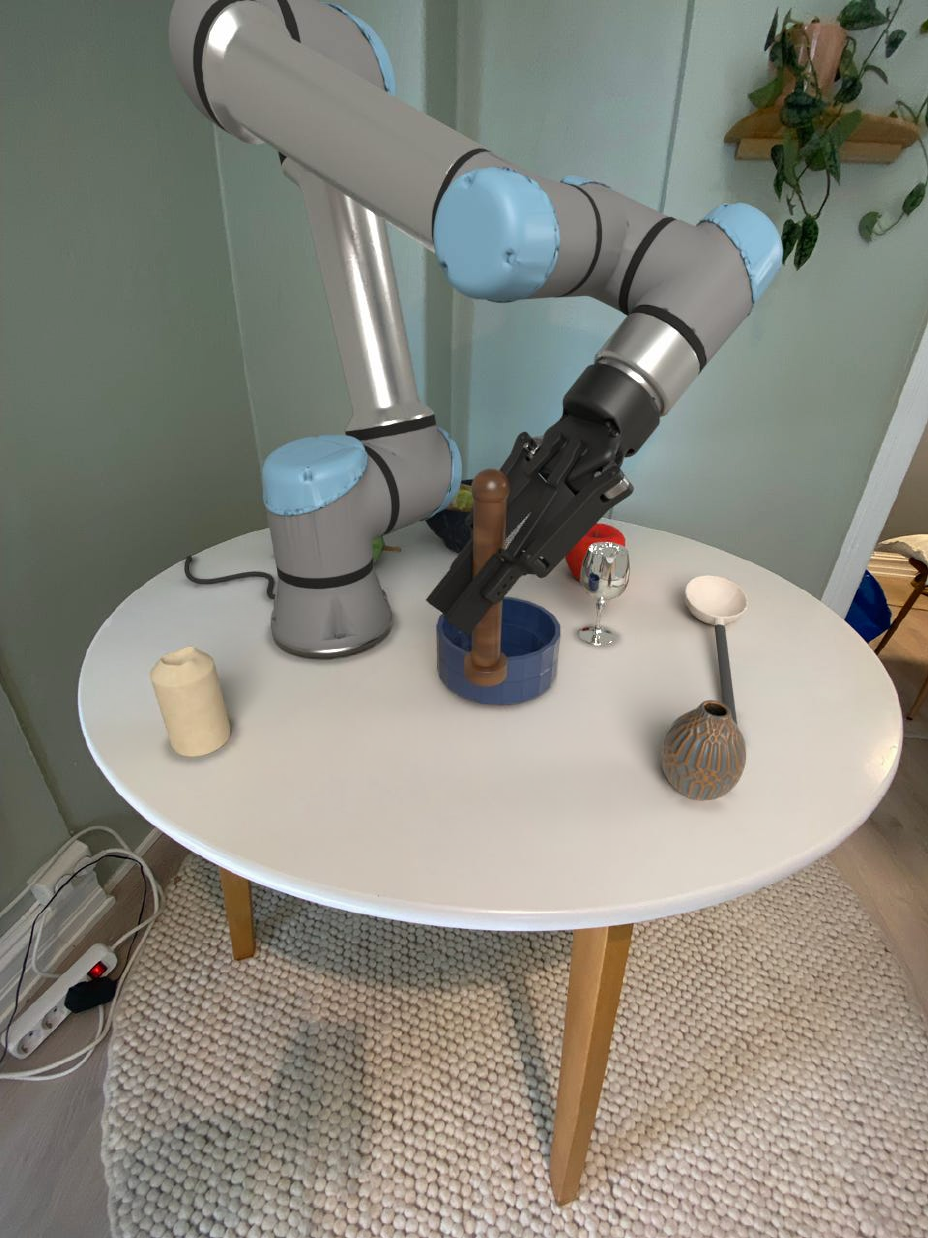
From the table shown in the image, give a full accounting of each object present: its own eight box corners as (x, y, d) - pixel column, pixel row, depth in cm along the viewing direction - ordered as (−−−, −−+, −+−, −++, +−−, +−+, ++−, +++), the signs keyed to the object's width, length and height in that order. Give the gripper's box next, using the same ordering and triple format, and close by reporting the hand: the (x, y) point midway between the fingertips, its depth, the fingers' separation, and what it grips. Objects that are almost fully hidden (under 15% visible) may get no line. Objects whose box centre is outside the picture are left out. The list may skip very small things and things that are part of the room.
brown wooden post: (456, 679, 54) (456, 472, 45) (474, 657, 58) (477, 459, 48) (497, 691, 53) (505, 479, 43) (513, 667, 56) (524, 465, 46)
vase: (682, 820, 51) (704, 742, 47) (641, 764, 57) (657, 690, 52) (751, 804, 53) (778, 727, 48) (704, 751, 58) (725, 678, 54)
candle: (212, 713, 63) (191, 632, 58) (242, 735, 60) (222, 652, 55) (161, 740, 59) (133, 656, 54) (190, 766, 56) (164, 679, 51)
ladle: (737, 599, 84) (746, 573, 82) (760, 771, 61) (774, 743, 58) (679, 590, 86) (686, 565, 83) (680, 754, 63) (689, 726, 60)
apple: (621, 593, 87) (629, 543, 83) (560, 588, 88) (565, 539, 84) (617, 567, 94) (625, 520, 90) (561, 563, 95) (566, 516, 92)
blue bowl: (416, 689, 67) (414, 640, 63) (468, 632, 77) (468, 587, 74) (531, 724, 62) (536, 673, 58) (570, 658, 72) (575, 611, 69)
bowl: (537, 538, 104) (542, 482, 99) (488, 575, 91) (490, 513, 86) (455, 519, 112) (455, 466, 107) (399, 550, 99) (396, 492, 94)
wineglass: (619, 650, 74) (634, 562, 68) (572, 645, 75) (582, 557, 69) (618, 626, 79) (632, 542, 72) (574, 622, 80) (584, 538, 73)
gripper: (719, 442, 45) (523, 683, 47) (586, 405, 57) (433, 599, 58) (682, 371, 40) (464, 643, 42) (545, 347, 52) (379, 560, 53)
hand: (446, 617), depth 50 cm, fingers closed on brown wooden post, 3 cm apart
